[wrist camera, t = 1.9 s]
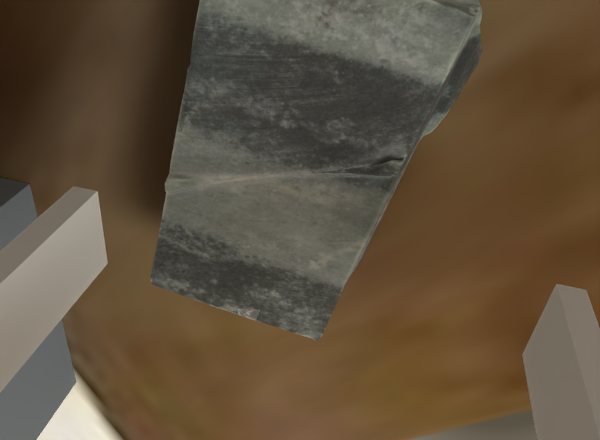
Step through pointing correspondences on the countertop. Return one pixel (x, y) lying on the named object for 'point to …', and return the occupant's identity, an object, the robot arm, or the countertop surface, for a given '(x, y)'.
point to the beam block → (47, 357)
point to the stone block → (300, 144)
